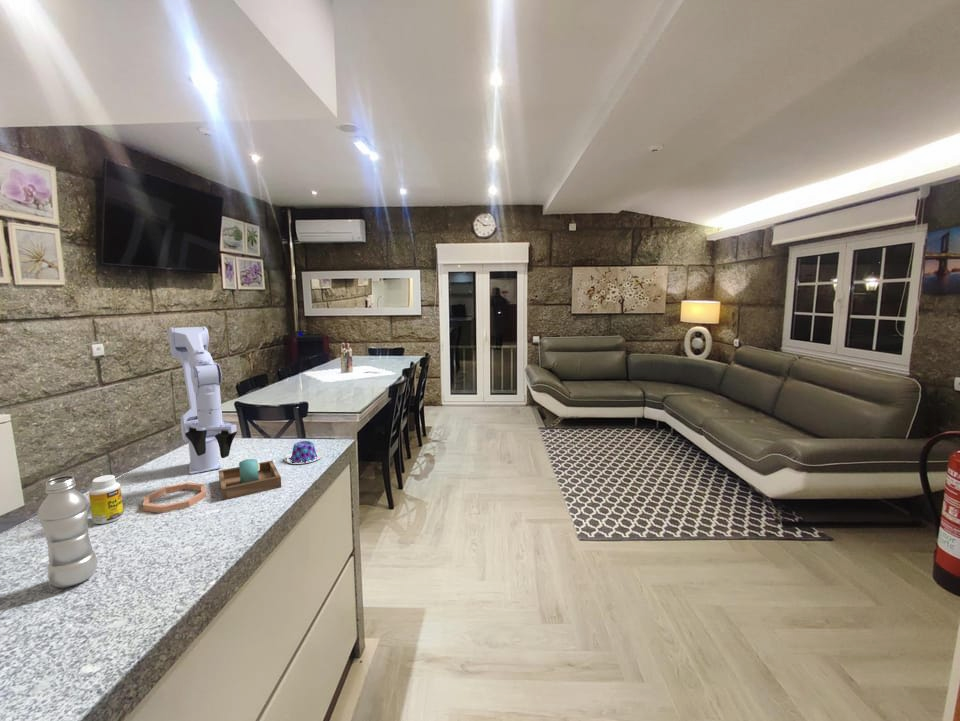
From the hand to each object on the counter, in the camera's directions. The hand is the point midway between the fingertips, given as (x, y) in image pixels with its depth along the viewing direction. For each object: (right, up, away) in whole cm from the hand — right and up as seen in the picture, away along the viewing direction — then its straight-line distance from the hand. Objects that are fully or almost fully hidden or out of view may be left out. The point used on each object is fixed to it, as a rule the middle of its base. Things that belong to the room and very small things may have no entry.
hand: (213, 455), depth 118 cm
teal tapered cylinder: (+9, -8, +2) cm, 12 cm away
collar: (-5, -10, -8) cm, 13 cm away
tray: (+9, -8, +2) cm, 13 cm away
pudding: (+16, -6, +21) cm, 28 cm away
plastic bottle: (-1, -15, -39) cm, 42 cm away
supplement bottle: (-14, -11, -18) cm, 25 cm away
